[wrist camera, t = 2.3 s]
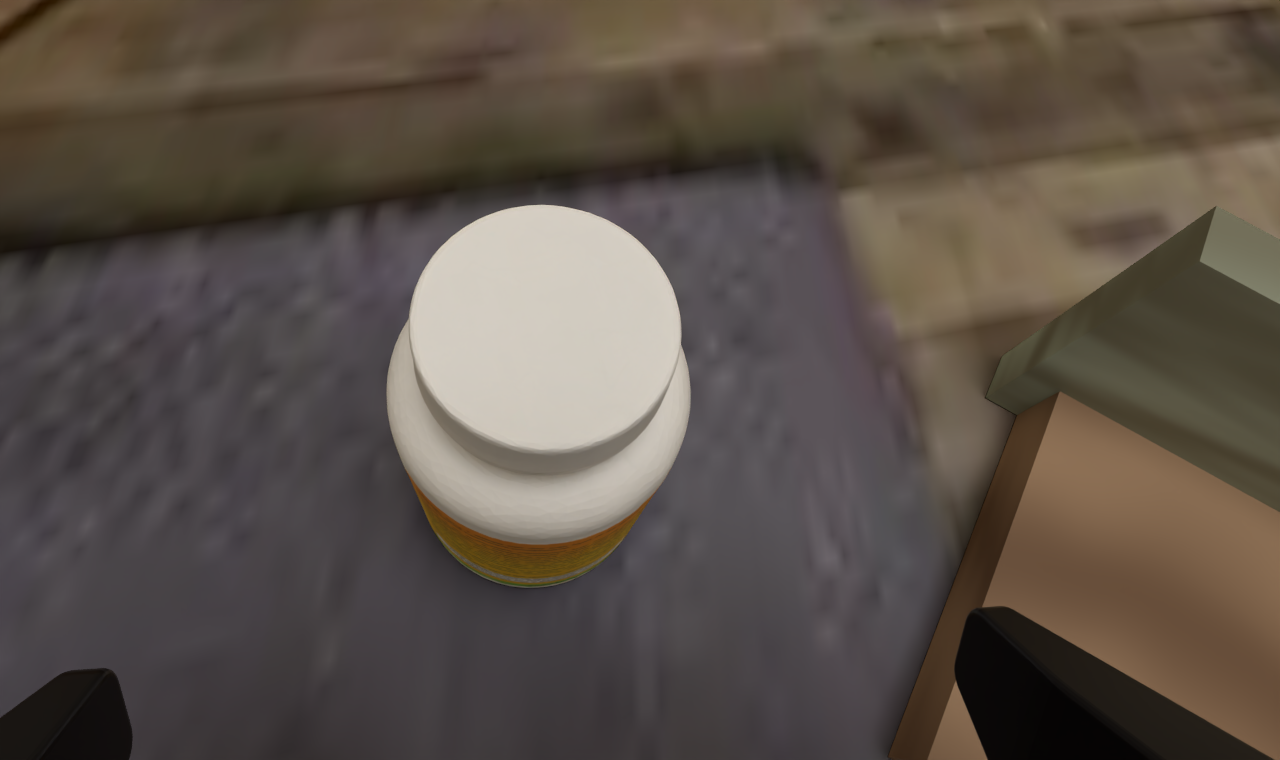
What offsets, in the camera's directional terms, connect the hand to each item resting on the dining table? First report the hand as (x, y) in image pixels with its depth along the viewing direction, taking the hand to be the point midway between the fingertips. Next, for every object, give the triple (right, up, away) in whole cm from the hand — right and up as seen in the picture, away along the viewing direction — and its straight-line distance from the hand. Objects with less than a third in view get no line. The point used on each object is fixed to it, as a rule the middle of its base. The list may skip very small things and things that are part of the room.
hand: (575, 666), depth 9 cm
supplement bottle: (-2, 0, +12) cm, 13 cm away
